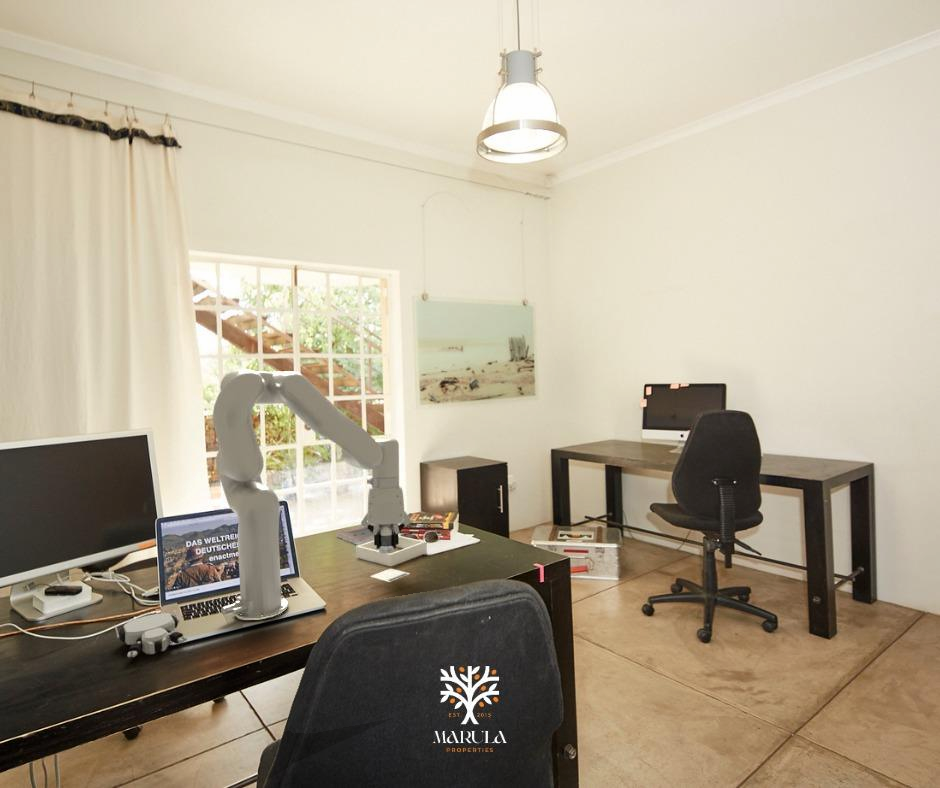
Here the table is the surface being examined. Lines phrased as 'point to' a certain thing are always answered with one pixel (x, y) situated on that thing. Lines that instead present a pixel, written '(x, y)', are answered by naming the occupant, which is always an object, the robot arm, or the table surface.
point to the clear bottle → (386, 538)
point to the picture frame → (358, 535)
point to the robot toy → (150, 633)
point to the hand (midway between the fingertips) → (386, 546)
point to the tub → (410, 551)
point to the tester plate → (390, 575)
